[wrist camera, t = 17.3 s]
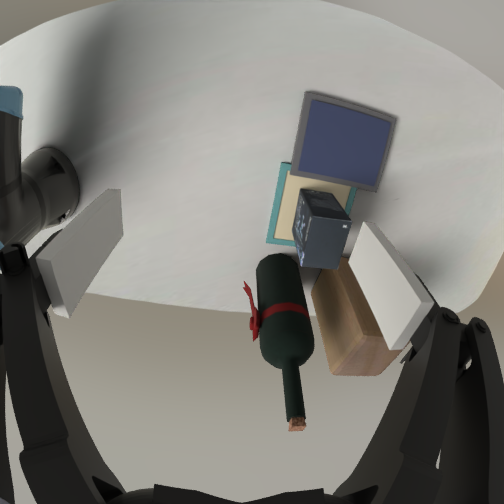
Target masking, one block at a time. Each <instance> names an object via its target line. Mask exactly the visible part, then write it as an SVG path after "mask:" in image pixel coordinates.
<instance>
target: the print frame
mask: <svg viewBox="0 0 504 504" xmlns="http://www.w3.org/2000/svg"><path fill="white" fill-rule="evenodd" d="M290 170H291V164H288V163H282V162H281V167H280V172H279V177H278V183H277V188H276V193H275V198H274V203H273V209H272V214H271V219H270V224H269V229H268V234H267V239H266V243H271V244H279V245H287V246H295V247H296V245H295V241H294V238H293V234H292V226H293V222H294V217H295V212H296V207H297V201H298V196H299V191H300V189H301V188H303V189H309V190H316V191H323V192H328V193H332V194H333V195H334V196H335V198H336V199H337V201H338V202H339V203H340V205H341V206H342V208H343V209H344V210H345V212H346V213H347V215H348V216H349V213H350V210H351V207H352V204H353V200H354V197H355V194H356V190H357V188H355V187H350V186H346V185H341V184H336V183H331V182H326V181H321V180H316V179H310V178H305V177H299V176H293V175H290V174H289V173H290Z"/></svg>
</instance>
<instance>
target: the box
mask: <svg viewBox="0 0 504 504" xmlns="http://www.w3.org/2000/svg"><path fill="white" fill-rule="evenodd" d="M351 225H352V221H351V219H350V218H349V216H348V215H347V213H346V212H345V210H344V209H343V208H342V206H341V205H340V203H339V202H338V201H337V199H336V198H335V196H334V195H333V194H332V193H328V192H323V191H316V190H309V189H303V188H301V189H300V191H299V196H298V201H297V207H296V212H295V217H294V222H293V226H292V234H293V238H294V241H295V245H296V249H297V252H298V256H299V260H300V264H301V266H302V267H312V268H324V269H335V270H337V269H338V267H339V263H340V260H341V256H342V253H343V250H344V247H345V244H346V240H347V237H348V234H349V231H350V228H351Z"/></svg>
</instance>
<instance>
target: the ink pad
mask: <svg viewBox="0 0 504 504" xmlns="http://www.w3.org/2000/svg"><path fill="white" fill-rule="evenodd" d="M395 122H396V119H395V118H392V117H390V116H387V115H384V114H381V113H379V112H376V111H373V110H370V109H367V108H364V107H360V106H357V105H354V104H351V103H347V102H344V101H340V100H337V99H333V98H329V97H325V96H321V95H317V94H313V93H308V92H305V94H304V99H303V104H302V110H301V115H300V120H299V126H298V131H297V136H296V141H295V146H294V151H293V156H292V161H291V170H290V173H289V174H290V175H293V176H299V177H305V178H310V179H316V180H321V181H326V182H331V183H336V184H341V185H346V186H350V187H355V188H359V189H364V190H368V191H372V192H377V189H378V186H379V182H380V179H381V176H382V172H383V169H384V165H385V162H386V158H387V154H388V150H389V146H390V143H391V139H392V134H393V130H394V126H395Z"/></svg>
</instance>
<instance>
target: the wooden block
mask: <svg viewBox="0 0 504 504" xmlns="http://www.w3.org/2000/svg"><path fill="white" fill-rule="evenodd" d="M348 262H349V259H348V258H344V257H341V260H340V263H339V267H338V269H337V270H335V269H324V268H323V269H322V271H321V273H320V275H319V277H318V279H317V281H316V283H315V285H314V287H313V289H312V291H311V296H312V300H313V304H314V308H315V311H316V315H317V319H318V323H319V327H320V331H321V335H322V339H323V343H324V347H325V351H326V356H327V360H328V364H329V369H330V372H331V373H332V374H333V375H343V376H376V375H379V374H381V373H382V372H383V371H384V370H385V369H386V368H387V367H388V366H389V365H390V363H391V362H392V361H393V360H394V359H395V358H396V357H397V356H398V355H399V354H400V353H401V352H402V350H403V349H404V348H405V347H406V346H407V345H408V344H409V342H410V340H409V341H408V343H407V344H406V346H405V347H404V348H403V349H401V350H389V348H388V346H387V343H386V341H385V339H384V336H383V334H382V332H381V330H380V327H379V325H378V323H377V321H376V318H375V316H374V314H373V312H372V310H371V308H370V305H369V303H368V301H367V299H366V297H365V295H364V293H363V291H362V289H361V287H360V285H359V283H358V281H357V279H356V277H355V275H354V273H353V271H352V269H351V267H350V265H349V263H348Z"/></svg>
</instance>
